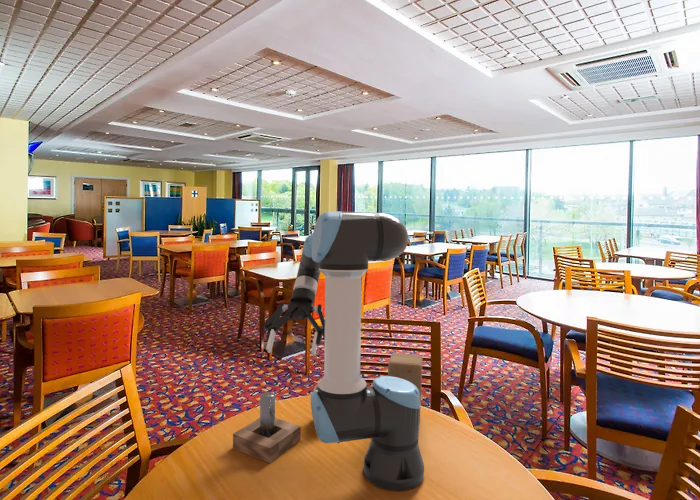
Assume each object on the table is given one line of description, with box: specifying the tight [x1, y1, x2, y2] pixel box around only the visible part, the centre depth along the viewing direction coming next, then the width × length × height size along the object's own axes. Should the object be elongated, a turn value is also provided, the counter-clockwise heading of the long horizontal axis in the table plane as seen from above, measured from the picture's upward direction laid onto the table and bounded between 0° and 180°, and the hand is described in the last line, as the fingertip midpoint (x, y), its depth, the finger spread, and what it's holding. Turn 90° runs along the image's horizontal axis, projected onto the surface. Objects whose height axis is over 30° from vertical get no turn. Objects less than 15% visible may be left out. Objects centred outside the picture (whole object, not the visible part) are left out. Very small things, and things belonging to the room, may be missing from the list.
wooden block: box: [387, 352, 424, 424], centre depth 131 cm, size 10×10×20 cm
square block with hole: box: [232, 417, 301, 464], centre depth 117 cm, size 13×13×4 cm
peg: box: [259, 391, 276, 438], centre depth 116 cm, size 4×4×14 cm
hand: (290, 352), depth 124 cm, fingers open, 13 cm apart
